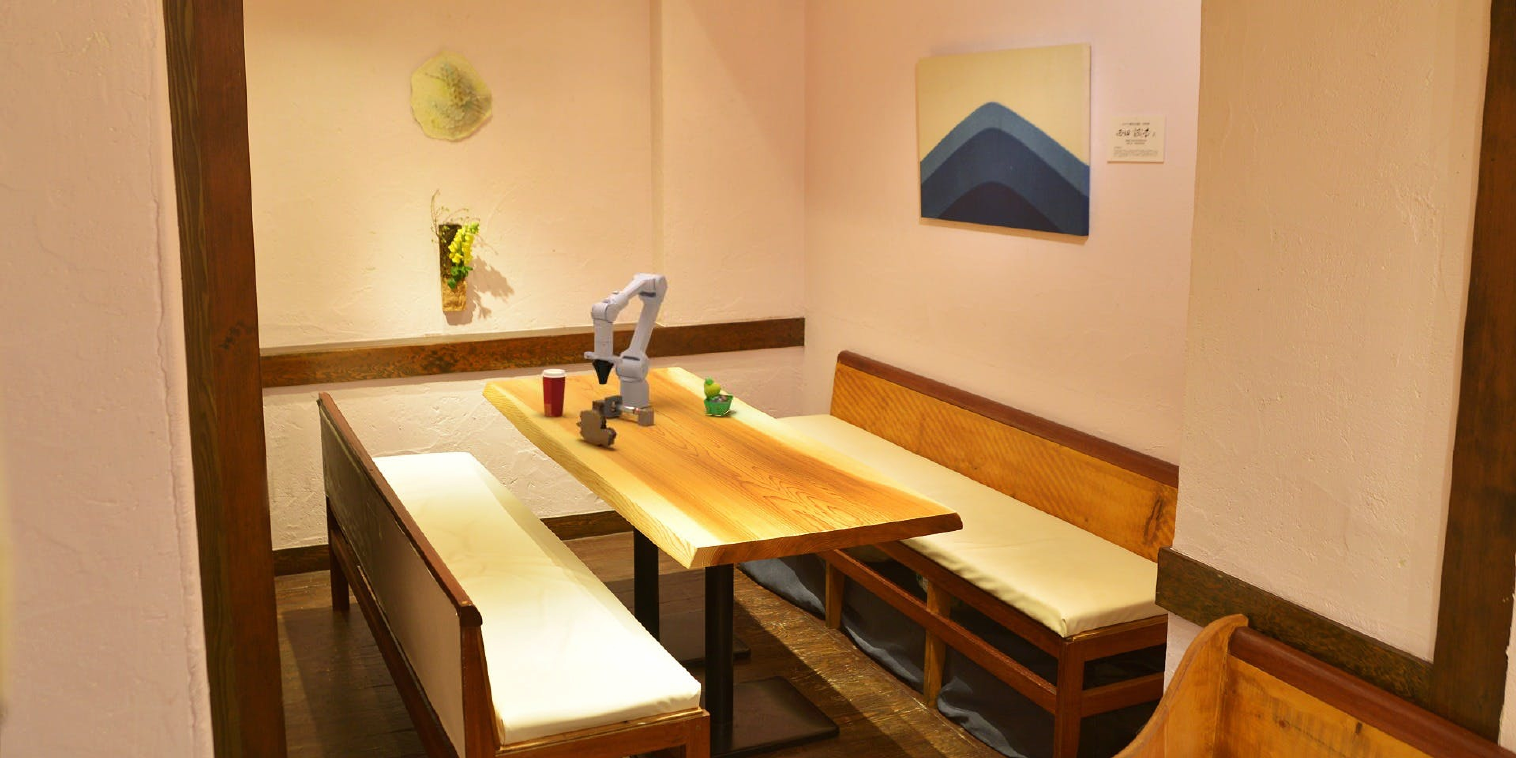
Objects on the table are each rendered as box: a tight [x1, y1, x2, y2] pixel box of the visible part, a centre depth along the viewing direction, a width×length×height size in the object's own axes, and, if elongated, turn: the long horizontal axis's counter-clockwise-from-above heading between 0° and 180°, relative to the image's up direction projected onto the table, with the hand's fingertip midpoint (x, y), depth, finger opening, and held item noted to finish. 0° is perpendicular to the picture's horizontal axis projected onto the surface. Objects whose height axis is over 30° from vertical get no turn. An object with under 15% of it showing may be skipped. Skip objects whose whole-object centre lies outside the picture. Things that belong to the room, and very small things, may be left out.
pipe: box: [591, 399, 655, 427], centre depth 399 cm, size 22×4×5 cm, turn 54°
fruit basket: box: [703, 377, 734, 417], centre depth 412 cm, size 11×9×11 cm
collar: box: [603, 394, 623, 418], centre depth 402 cm, size 2×6×6 cm, turn 144°
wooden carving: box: [575, 409, 618, 447], centre depth 368 cm, size 16×5×10 cm, turn 48°
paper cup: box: [540, 368, 567, 418], centre depth 401 cm, size 8×8×14 cm
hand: (602, 384), depth 403 cm, fingers closed
